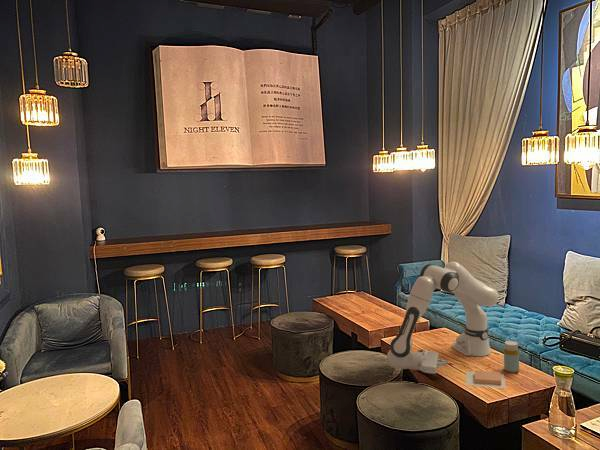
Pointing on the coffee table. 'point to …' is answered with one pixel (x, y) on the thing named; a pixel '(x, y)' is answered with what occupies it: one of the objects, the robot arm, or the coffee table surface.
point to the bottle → (511, 357)
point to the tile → (487, 377)
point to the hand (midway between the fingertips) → (447, 363)
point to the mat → (471, 381)
